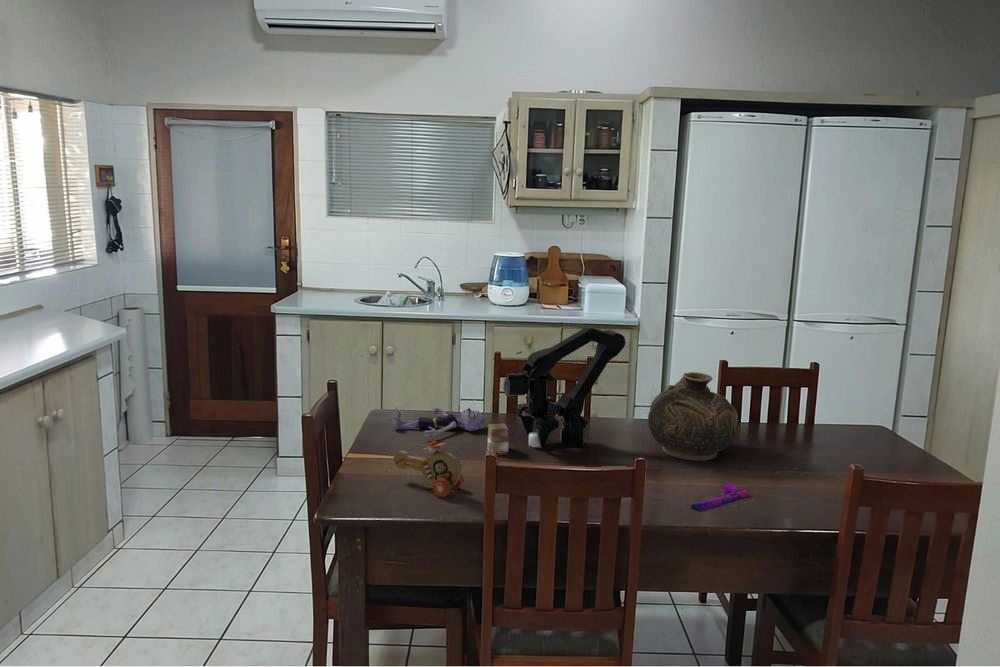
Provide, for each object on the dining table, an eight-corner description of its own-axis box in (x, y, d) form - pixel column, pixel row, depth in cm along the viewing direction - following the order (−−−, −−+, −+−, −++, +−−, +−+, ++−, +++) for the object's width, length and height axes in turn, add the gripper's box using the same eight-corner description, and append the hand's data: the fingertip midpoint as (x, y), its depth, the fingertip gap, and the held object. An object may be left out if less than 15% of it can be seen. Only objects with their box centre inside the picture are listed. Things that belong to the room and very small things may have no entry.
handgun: (728, 488, 208) (728, 481, 208) (750, 497, 202) (751, 490, 201) (674, 502, 197) (675, 495, 197) (696, 513, 191) (697, 506, 190)
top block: (504, 435, 232) (504, 423, 231) (507, 441, 227) (508, 428, 226) (488, 436, 231) (488, 424, 230) (491, 442, 226) (491, 429, 225)
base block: (506, 448, 233) (507, 435, 232) (507, 455, 227) (508, 442, 226) (487, 447, 232) (487, 435, 232) (488, 454, 227) (488, 442, 226)
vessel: (682, 430, 253) (692, 359, 247) (752, 460, 231) (765, 383, 226) (625, 444, 237) (634, 368, 231) (695, 478, 215) (707, 395, 210)
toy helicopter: (450, 500, 193) (451, 449, 190) (385, 483, 202) (385, 434, 200) (467, 489, 200) (468, 440, 197) (403, 473, 210) (403, 426, 207)
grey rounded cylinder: (541, 444, 237) (542, 432, 236) (543, 449, 232) (543, 436, 232) (527, 444, 236) (528, 432, 236) (529, 449, 232) (529, 436, 231)
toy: (399, 398, 261) (485, 391, 260) (402, 423, 263) (488, 417, 261) (386, 421, 235) (482, 414, 234) (390, 449, 237) (485, 442, 236)
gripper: (575, 399, 226) (573, 449, 229) (547, 384, 243) (545, 430, 246) (542, 403, 221) (540, 453, 224) (515, 387, 238) (514, 434, 241)
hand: (535, 442), depth 234 cm, fingers open, 9 cm apart
